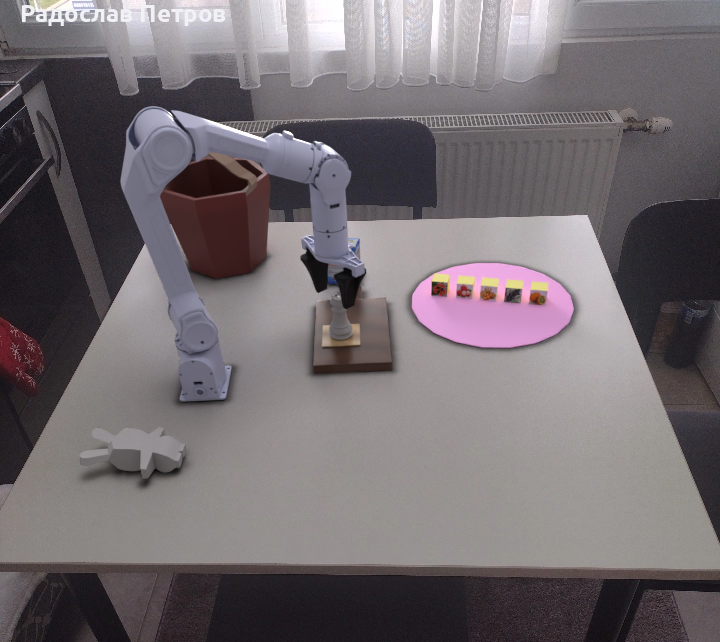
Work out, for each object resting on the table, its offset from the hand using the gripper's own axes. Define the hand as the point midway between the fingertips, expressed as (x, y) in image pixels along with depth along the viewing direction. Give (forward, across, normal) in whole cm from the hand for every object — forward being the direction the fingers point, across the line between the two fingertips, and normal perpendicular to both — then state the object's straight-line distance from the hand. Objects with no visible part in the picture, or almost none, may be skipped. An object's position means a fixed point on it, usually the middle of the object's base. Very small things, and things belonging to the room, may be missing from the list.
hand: (335, 298), depth 122 cm
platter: (+10, -10, -31) cm, 34 cm away
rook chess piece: (+8, 0, -1) cm, 8 cm away
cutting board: (+10, +2, -5) cm, 11 cm away
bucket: (+10, +43, -3) cm, 44 cm away
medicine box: (+10, +18, -16) cm, 26 cm away
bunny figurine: (+10, -3, +43) cm, 44 cm away
